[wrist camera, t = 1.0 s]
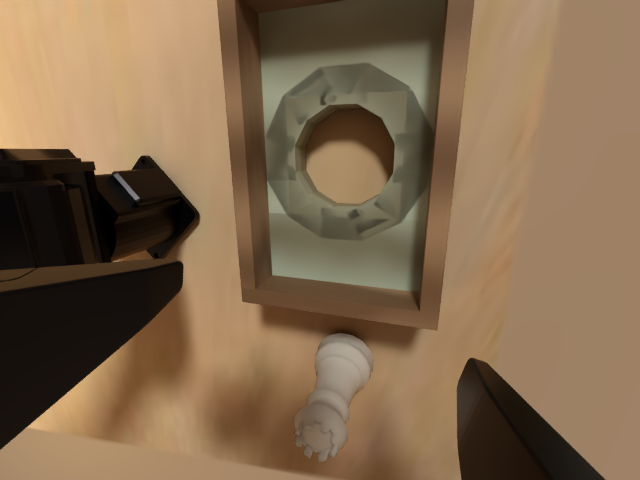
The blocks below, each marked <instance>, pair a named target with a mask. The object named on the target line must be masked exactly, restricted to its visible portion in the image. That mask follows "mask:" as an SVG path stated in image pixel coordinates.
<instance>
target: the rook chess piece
mask: <svg viewBox="0 0 640 480" xmlns="http://www.w3.org/2000/svg"><path fill="white" fill-rule="evenodd" d="M373 362H374V360H373V357H372V354H371V351H370V349H369V348H368V347H367V346H366V345H365V343H364V342H363V341H361V340H360V339H358V338H356V337H355V336H353V335H349V334H344V333H337V334H331V335H329V336H328V337H326V338H325V339H323V340H322V342H321V343H320V345H319V347H318V351H317V353H316V355H315V369H316V375H317V380H316V385H315V389H314V391H313V392H312V393H310V394H309V396H308V398H307V399H306V406H305V407H303V408H301V409H299V410H298V412H297V413H296V415H295V417H294V426H295V429H296V431H295V433H294V434H296V437H295V439H294V441H295V444H296V446H297V447H301V446H302V443H303V444H304V446H305V450H304V452H303V454H304V455H305V456H307V457H308V458H310V459H311V456H312V453H313V452H315V453H319V456H318V461H319V462H327V459H328V455H329V456H330V457H331V458H334V457H335V456H336V454H337V451H338V450H339V449H341V448H343V446H344V445H345V444H346V442H347V438H348V431H347V429H346V426H345V423H346V422H347V420H348V419H349V409H348V407H349V403H350V401H351V399H352V397H353V395H354V394H355V393H356V392H358V391H359V390H360V389H361V388H363V387H364V386H365V384H366V383H367V381H368V380H369V378H370V374H371V372H372V370H373Z"/></svg>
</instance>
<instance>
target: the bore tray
mask: <svg viewBox="0 0 640 480" xmlns="http://www.w3.org/2000/svg"><path fill="white" fill-rule="evenodd" d="M217 6H218V17H219V29H220V41H221V53H222V65H223V77H224V88H225V100H226V112H227V124H228V136H229V148H230V159H231V171H232V183H233V195H234V207H235V218H236V230H237V242H238V254H239V266H240V278H241V289H242V301H243V302H248V303H255V304H261V305H268V306H275V307H282V308H288V309H295V310H302V311H309V312H315V313H322V314H329V315H336V316H342V317H349V318H356V319H363V320H369V321H376V322H383V323H390V324H396V325H403V326H410V327H417V328H423V329H430V330H438V321H439V312H440V303H441V294H442V285H443V276H444V267H445V258H446V249H447V240H448V231H449V222H450V214H451V205H452V196H453V187H454V178H455V169H456V160H457V151H458V142H459V133H460V124H461V115H462V106H463V97H464V88H465V80H466V71H467V62H468V53H469V44H470V35H471V26H472V17H473V8H474V0H217ZM353 108H364V109H365V110H367V111H369V112H370V113H372V114H374V115H376V116H377V117H379V118H381V119H382V120H383V122H384V124H385V126H386V127H387V129H388V131H389V133H390V135H391V137H392V139H393V141H394V143H395V151H394V168H393V174H392V176H391V178H390V179H389V181H388V182H387V184H386V185H385V187H384V188H383V190H382V192H381V193H380V194H379V195H377V196H375V197H373V198H371V199H369V200H367V201H365V202H363V203H361V204H343V203H336V202H334V201H333V200H331V199H329V198H328V197H326V196H325V195H323V194H322V193H320V192H318V191H317V189H316V187H315V185H314V184H313V182H312V180H311V178H310V176H309V174H308V173H307V171H306V144H307V142H308V140H309V138H310V136H311V134H312V132H313V130H314V128H315V126H316V124H317V123H318V122H320V121H321V120H323V119H324V118H326V117H327V116H329V115H330V114H331V113H333V112H334V111H336V110H337V109H353Z"/></svg>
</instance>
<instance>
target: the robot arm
mask: <svg viewBox="0 0 640 480" xmlns="http://www.w3.org/2000/svg"><path fill="white" fill-rule="evenodd" d="M146 162H147V164H146ZM94 170H95V165H94V162H93V161H81V158H76V157H75V156H74V155H73V153H72V152H71V151H70V150H69V149H0V450H1V449H2V448H3V447H4V446H5V445H6V444H8V443H9V442H10V441H11V440H12V439H13V438H15V437H16V436H17V435H18V434H19V433H20V432H22V431H23V430H24V429H25V428H26V427H28V426H29V425H30V424H31V423H32V422H33V421H35V420H36V419H37V418H38V417H39V416H40V415H42V414H43V413H44V412H45V411H46V410H48V409H49V408H50V407H51V406H52V405H53V404H55V403H56V402H57V401H58V400H59V399H60V398H62V397H63V396H64V395H65V394H66V393H67V392H69V391H70V390H71V389H72V388H73V387H75V386H76V385H77V384H78V383H79V382H80V381H82V380H83V379H84V378H85V377H86V376H87V375H89V374H90V373H91V372H92V371H93V370H94V369H96V368H97V367H98V366H99V365H100V364H102V363H103V362H104V361H105V360H106V359H107V358H109V357H110V356H111V355H112V354H113V353H114V352H116V351H117V350H118V349H119V348H120V347H121V346H123V345H124V344H125V343H126V342H127V341H129V340H130V339H131V338H132V337H133V336H134V335H136V334H137V333H138V332H139V331H140V330H141V329H143V328H144V327H145V326H146V325H147V324H148V323H149V322H150V321H151V320H152V319H153V318H154V317H155V316H156V315H157V314H158V313H159V312H160V311H161V310H162V309H163V308H164V307H165V306H166V305H167V304H168V303H169V302H170V301H171V300H172V299H173V298H174V297H175V296H176V295H177V293H178V292H179V291H180V290H181V288H182V284H183V263H182V262H181V261H178V260H175V259H172V258H165V259H163V258H164V257H165V256H166V255H167V254H168V253H169V251H170V250H171V249H172V248H173V247H174V245H175V244H176V243H177V242H178V241H179V240H180V238H181V237H182V236H183V235H184V234H185V233H186V231H187V230H188V229H189V228H190V227H191V226H192V224H193V223H194V222H195V221H196V220H197V219H198V216H199V214H198V211H197V210H196V208H195V207H194V206H193V205H192V204H191V203H190V202H189V200H188V199H187V198H186V197H185V196H184V195H183V194H182V192H181V191H180V190H179V189H178V187H177V186H176V185H175V184H174V183H173V182H172V181H171V179H170V178H169V177H168V176H167V175H166V174H165V173H164V171H163V170H162V169H161V168H160V167H159V166H158V165H157V164H156V163H155V162H154V160H153V159H152V158H151V157H150V156H141V157H140V158H139V159H138V161H137V162H136V164H135V166H134V167H133V169H132V170H128V171H114V172H113V173H112V174H103V175H95V174H94ZM191 212H192V214H193V216H191ZM143 250H147V252H148V253H149V254H150V255H151V256H152V257H153V258H154V259H151V260H138V261H124V262H113V261H116V260H118V259H121V258H124V257H127V256H129V255H132V254H135V253H138V252H140V251H143ZM457 441H458V455H459V463H460V471H461V479H462V480H605V479H604V478H603V477H602V476H601V475H600V474H599V473H598V472H597V471H596V470H595V469H594V468H593V467H592V466H591V465H590V464H589V463H588V462H587V461H586V460H585V459H584V458H583V457H582V456H581V455H580V454H579V453H578V452H577V451H576V450H575V449H574V448H573V447H572V446H571V445H570V444H569V443H568V442H567V441H566V440H565V439H564V438H563V437H562V436H561V435H560V434H559V433H558V432H556V430H554V429H553V428H552V427H551V425H549V424H548V423H547V422H546V421H545V420H544V419H543V418H542V417H541V416H540V415H539V414H538V413H537V412H536V411H535V410H534V409H533V408H532V407H531V406H530V405H529V404H528V403H527V402H526V401H525V400H524V399H523V398H522V397H521V396H520V395H519V394H518V393H517V392H516V391H515V390H514V389H513V388H512V387H511V386H510V385H509V384H508V383H507V382H506V381H505V380H504V379H503V378H502V377H501V376H500V375H499V374H498V373H497V372H496V371H495V370H494V369H493V368H492V367H491V366H490V365H489V364H488V363H486V362H484V361H481V360H478V359H475V358H470V359H469V360H468V361H467V363H466V365H465V367H464V370H463V372H462V374H461V377H460V379H459V382H458V385H457Z"/></svg>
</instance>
